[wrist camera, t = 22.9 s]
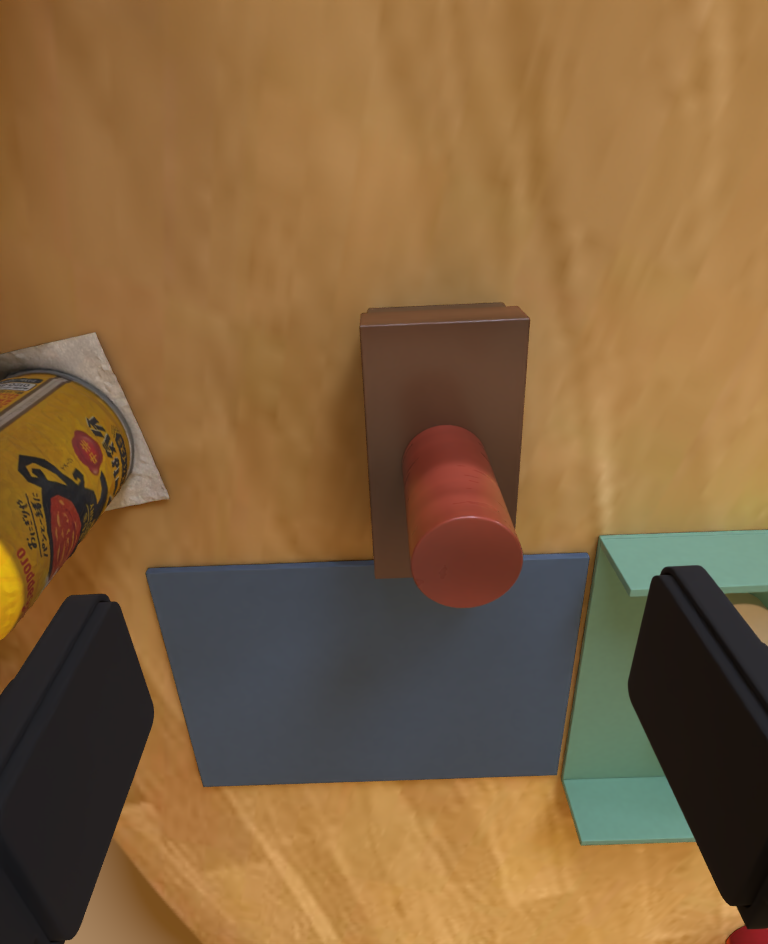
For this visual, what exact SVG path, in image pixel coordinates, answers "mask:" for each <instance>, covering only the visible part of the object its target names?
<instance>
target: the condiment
mask: <svg viewBox="0 0 768 944" xmlns="http://www.w3.org/2000/svg"><path fill="white" fill-rule="evenodd" d="M163 499H170V498H169V495H168V493H167V490H166V488H165V486H164V484H163V481H162V479H161V477H160V474H159V471H158V469H157V467H156V465H155V463H154V460H153V457H152V455H151V453H150V450H149V448H148V446H147V444H146V442H145V439H144V437H143V434H142V432H141V430H140V428H139V425H138V423H137V421H136V419H135V417H134V415H133V413H132V410H131V408H130V406H129V404H128V402H127V399H126V397H125V395H124V393H123V391H122V388H121V386H120V385H119V383H118V381H117V378H116V376H115V374H114V373H113V372H112V369H111V367H110V364H109V362H108V360H107V358H106V356H105V354H104V351H103V349H102V347H101V345H100V342H99V340H98V338H97V335H96V333H95V332H94V333H90V334H86V335H81V336H77V337H73V338H68V339H64V340H59V341H55V342H50V343H46V344H43V345H39V346H33V347H29V348H25V349H20V350H16V351H13V352H8V353H3V354H0V640H1V639H3V638H5V636H6V635H7V634H8V633H9V632H11V631H12V630H13V628H14V627H15V626H16V624H17V623H18V622H19V621H20V619H21V618H23V617H24V615H25V613H26V612H27V611H28V609H29V608H30V607H31V606H32V605H33V604H34V602H35V601H36V600H37V598H38V597H39V595H40V594H41V592H42V591H43V590H44V588H45V587H46V586H47V585H48V583H49V582H50V581H51V579H52V578H53V576H54V575H55V574H56V573H57V572H58V571H59V569H60V568H61V567H62V565H63V564H64V562H65V561H66V560H67V559H68V558H69V557H70V556H71V555H72V554H73V553H74V551H75V550H76V547H77V545H78V544H79V543H80V542H81V541H82V540H83V539H84V538H85V536H86V535H87V534H88V532H89V531H90V529H91V528H92V527H93V525H94V524H95V522H96V521H97V520H98V519H99V517H100V516H101V514H102V513H103V512H104V511H108V510H112V509H117V508H122V507H126V506H131V505H138V504H142V503H146V502H151V501H157V500H163Z"/></svg>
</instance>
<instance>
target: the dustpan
mask: <svg viewBox="0 0 768 944" xmlns="http://www.w3.org/2000/svg"><path fill="white" fill-rule="evenodd" d="M687 565H699V566H702V567H703V568H704V569H705V570H706V571H707V572H708V573H709V575H710V576H711V577H712V579H713V580H714V581H715V582H716V584H717V585H718V586H719V588H720V589H721V590H722V591H723V593H724V594H729V593H749V594H752V595H753V596H755V597H757V598H758V599H759V600H760V601H761V602H762V603H763V605H764V606H765V607H766V608H767V609H768V530H744V531H716V532H688V533H659V534H631V535H603V536H599V539H598V546H597V552H596V559H595V565H594V571H593V578H592V584H591V590H590V597H589V603H588V610H587V616H586V622H585V629H584V635H583V641H582V648H581V654H580V661H579V667H578V673H577V680H576V686H575V692H574V699H573V705H572V712H571V718H570V724H569V731H568V737H567V743H566V750H565V756H564V763H563V769H562V775H561V781H562V785H563V788H564V791H565V795H566V798H567V801H568V805H569V808H570V811H571V815H572V818H573V821H574V825H575V828H576V832H577V835H578V838H579V842H580V845H581V846H582V845H613V844H644V843H674V842H696V841H695V838H694V836H693V834H692V832H691V830H690V828H689V826H688V823H687V821H686V819H685V817H684V815H683V813H682V811H681V808H680V806H679V804H678V802H677V800H676V798H675V796H674V793H673V791H672V789H671V787H670V785H669V783H668V781H667V778H666V776H665V774H664V772H663V770H662V768H661V766H660V763H659V761H658V759H657V757H656V755H655V753H654V751H653V748H652V746H651V744H650V742H649V740H648V738H647V736H646V733H645V731H644V729H643V727H642V725H641V723H640V721H639V718H638V716H637V714H636V712H635V710H634V708H633V706H632V703H631V701H630V698H629V694H628V678H629V674H630V669H631V665H632V661H633V657H634V652H635V648H636V644H637V639H638V635H639V631H640V626H641V622H642V618H643V613H644V609H645V605H646V601H647V596H648V592H649V588H650V583H651V580H652V578H653V577H654V576H656V575H660V574H661V571H662V569H663V568H664V567H667V566H687Z"/></svg>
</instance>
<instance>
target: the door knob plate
mask: <svg viewBox="0 0 768 944" xmlns="http://www.w3.org/2000/svg"><path fill="white" fill-rule="evenodd" d="M529 327H530V318H529V317H528V316H527V315H526V314H525V313H524V312H523V311H522V310H521V309H520V308H519V307H518V306H508V307H506V305H505V304H504V303H502V302H501V303H479V304H456V305H434V306H412V307H390V308H369V309H368V311H367V313H362V314H361V318H360V342H361V358H362V375H363V391H364V408H365V424H366V441H367V457H368V474H369V490H370V507H371V523H372V540H373V556H374V572H375V579H389V578H413V580H414V582H415V584H416V585H417V587H418V588H419V589H420V590H421V592H422V593H423V594H425V595H426V596H427V597H428V598H430V599H431V600H433V601H435V602H437V603H439V604H442V605H445V606H449V607H454V608H472V607H477V606H482V605H485V604H488V603H490V602H492V601H494V600H496V599H498V598H500V597H501V596H502V595H504V594H505V593H506V592H507V591H508V590H509V589H510V588H511V587H512V586H513V585H514V583H515V582H516V580H517V579H518V577H519V575H520V572H521V569H522V564H523V552H522V548H521V545H520V542H519V539H518V537H517V534H516V531H515V525H516V511H517V497H518V483H519V469H520V454H521V440H522V426H523V412H524V398H525V384H526V370H527V355H528V341H529Z"/></svg>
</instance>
